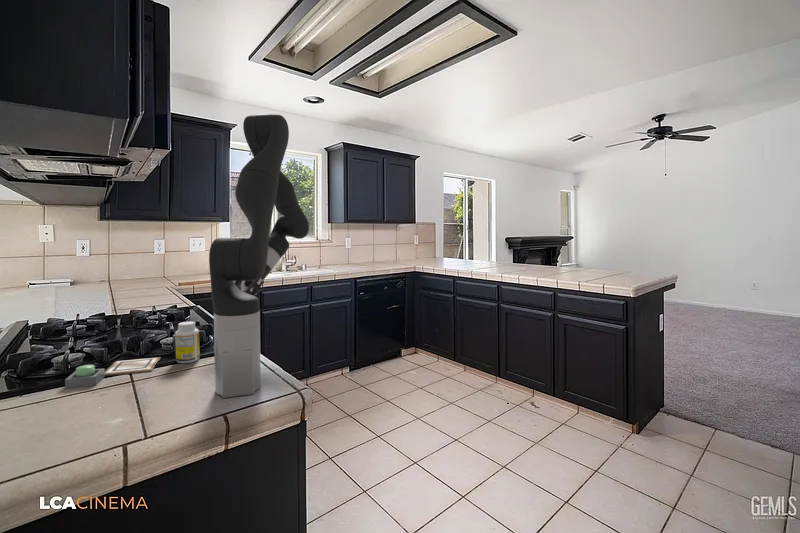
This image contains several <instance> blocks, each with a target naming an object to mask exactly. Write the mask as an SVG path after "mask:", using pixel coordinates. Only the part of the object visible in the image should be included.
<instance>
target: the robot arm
mask: <svg viewBox="0 0 800 533" xmlns="http://www.w3.org/2000/svg"><path fill="white" fill-rule="evenodd" d="M242 124H243V126H242V129H243V134H244V138H245V140H246V143H247V145H248V148H249V150H250V152H251V154H252V158H251V159H250V160H249V161H248V162H247V163H246V164H245V165H244V166H243V167H242V169H241V170H240V172H239V176H238V179H237V183H236V186H235V190H234V191H235V192H234V193H235V195H234V196H235V199H236V202H237V204H238V206H239V208H240V210H241V211H242V213H243V215H244V216H245V217H246V219H247V220H248V222H249V225H250V227H251V235H250V236H249V237H218V238H215V239H214V240H213V241H212V242H211V244H210V247H209V254H208V255H209V256H208V264H209V266H208V267H209V275H210V276H209V277H210V290H211V301H212V305H213V306H212V307H213V308H212V309H213V343H214V346H213V348H214V349H213V350H214V352H213V353H214V383H215V384H214V385H215V386H214V388H215V391H214V392H215V393H216V394H217V395H218V396H221V398H222V399H224V398H225V399H226V398H233V397H240V396H241V397H242V396H246V395H247V396H248V395H254V394H255V392H256V391H257V390H259V389H260V388H261V386H262V385H261V380H262V379H261V376H262V375H261V372H262V370H261V368H262V367H261V310H260V309H261V307H260V306H261V304H260V299H259V298H258V297H257V296H255V295H256V293H257V292H258V291H259V290H260V288H261V287H262V286H263V284H264V283H265V281H264V280H265V279H267V277H268V275H269V274H270V273H271V272H272V271H273V269H274V268H275V266H277V264H278V263H279V261H280V260H281V259H282V257H283V256H284V254H285V253H287V251H288V250H289V248H290V243H289V241H288V239H286V237H291V238H293V239H304V238H305V237H307V235H308V234H309V232H310V225H309V224H310V223H309V220H308V218H307V216H306V214H305V213H304V211H303V209H302V207H301V206H300V204H299V202H298V198H297V195H296V192H295V188H294V186H293V183H292V182H291V180H290V179H289V178H288V177H287V175H285V174H284V172H282V170H281V168H282V164H283V161H284V157H285V153H286V151H287V148H288V144H289V143H288V142H289V138H290V136H289V135H290V130H289V125H288V121H287V120H286V118H285V117H284V116H283V115H282V114H279V113H263V114H261V113H260V114H252V115H247V116H245V118H244V120H243V122H242ZM274 207H275V209H276V211H277V212H278V213H279V214H280V216H279V217H278V218H277V220H276V221H275V223H274V226H273V227H272V230H271V222H272V217H273V212H274ZM270 231H271V232H270Z"/></svg>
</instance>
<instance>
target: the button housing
mask: <svg viewBox="0 0 800 533" xmlns="http://www.w3.org/2000/svg"><path fill="white" fill-rule="evenodd" d="M105 371H106V369H105V368H95V375H93V376H86V377H76V370H75V371H74V372H73V373H71V374H70V375H68V377H66V378H65V379H64V386H65V389H74V388H82V387H92V386H97V385H98V384H99V383H100V382H101V381H102V380H103V379H104V378H105V377H106V376H105Z"/></svg>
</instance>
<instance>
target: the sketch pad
mask: <svg viewBox="0 0 800 533" xmlns="http://www.w3.org/2000/svg"><path fill="white" fill-rule="evenodd" d="M161 359H162V357H161V356H159V357H157V356H156V357H148V358H147V357H146V358H137V359H136V358H135V359H127V360H115V361H114V362H113V363H112V364H111V365H110V366H109V367H108V368H107V369H105V377H109V376H117V375H118V376H119V375H121V376H122V375H129V374H138V373H146V372H147V373H148V372H153V370H154V369H155V367H156V366H157V365H156V363H157V362H158V361H160V360H161ZM158 363H159V362H158ZM158 363H157V364H158ZM155 365H156V366H155Z"/></svg>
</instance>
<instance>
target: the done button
mask: <svg viewBox="0 0 800 533" xmlns="http://www.w3.org/2000/svg"><path fill="white" fill-rule="evenodd" d="M95 369H96V367H95V365H94V364H85V365H80V366H78V367H76V368H75V371H76V377H86V376H93V375H95Z"/></svg>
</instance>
